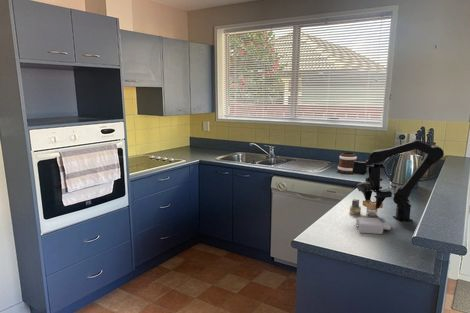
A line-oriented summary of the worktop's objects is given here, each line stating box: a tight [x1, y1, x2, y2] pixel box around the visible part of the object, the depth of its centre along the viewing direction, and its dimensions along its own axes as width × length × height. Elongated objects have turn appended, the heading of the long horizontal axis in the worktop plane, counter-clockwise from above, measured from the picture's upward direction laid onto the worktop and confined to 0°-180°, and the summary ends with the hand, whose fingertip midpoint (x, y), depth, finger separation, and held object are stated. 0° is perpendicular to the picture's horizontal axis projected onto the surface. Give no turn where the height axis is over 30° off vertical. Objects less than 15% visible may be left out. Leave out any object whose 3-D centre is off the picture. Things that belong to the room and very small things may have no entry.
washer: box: [362, 198, 384, 209], centre depth 169 cm, size 7×7×2 cm
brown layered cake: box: [337, 152, 358, 175], centre depth 269 cm, size 20×15×15 cm
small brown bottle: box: [349, 198, 362, 216], centre depth 172 cm, size 5×5×7 cm
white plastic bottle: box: [355, 216, 395, 235], centre depth 150 cm, size 5×9×15 cm
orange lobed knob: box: [365, 199, 379, 218], centre depth 169 cm, size 5×5×7 cm
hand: (372, 206), depth 169 cm, fingers closed on washer, 7 cm apart
